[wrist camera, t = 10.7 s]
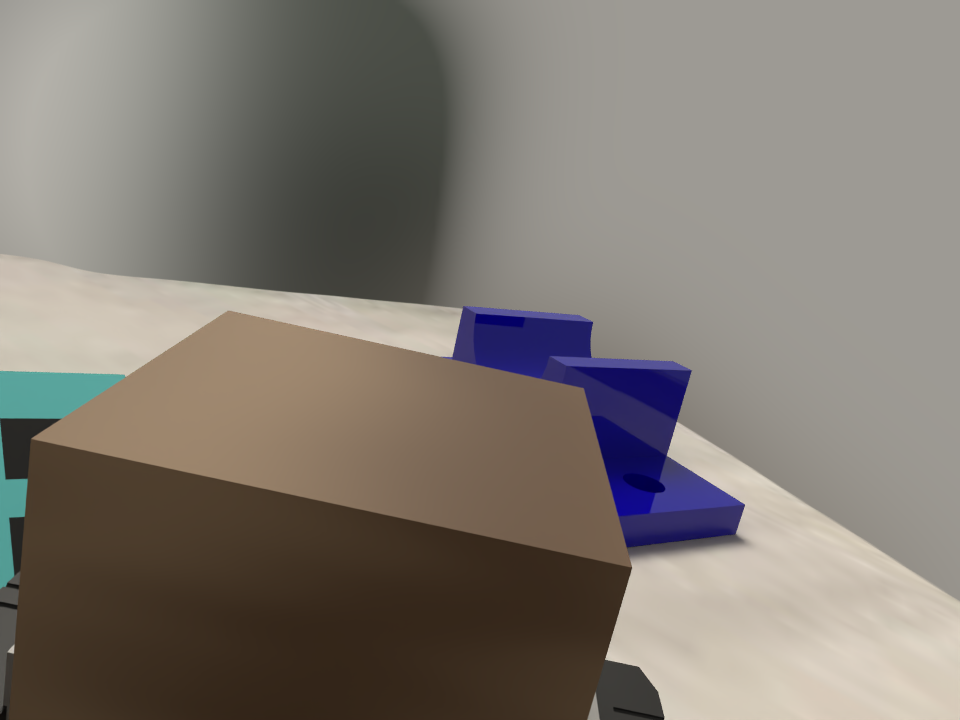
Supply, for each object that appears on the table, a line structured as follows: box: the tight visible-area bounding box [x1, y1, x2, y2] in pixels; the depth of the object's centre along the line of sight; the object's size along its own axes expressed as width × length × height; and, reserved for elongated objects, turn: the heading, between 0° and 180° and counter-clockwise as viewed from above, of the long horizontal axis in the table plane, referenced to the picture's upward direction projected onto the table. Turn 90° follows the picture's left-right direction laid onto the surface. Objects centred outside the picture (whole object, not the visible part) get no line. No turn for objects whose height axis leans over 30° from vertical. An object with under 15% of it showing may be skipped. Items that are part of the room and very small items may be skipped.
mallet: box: [9, 311, 632, 720], centre depth 15 cm, size 5×14×11 cm, turn 178°
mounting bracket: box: [443, 306, 745, 547], centre depth 41 cm, size 18×7×6 cm, turn 31°
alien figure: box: [0, 371, 125, 589], centre depth 26 cm, size 20×2×20 cm
